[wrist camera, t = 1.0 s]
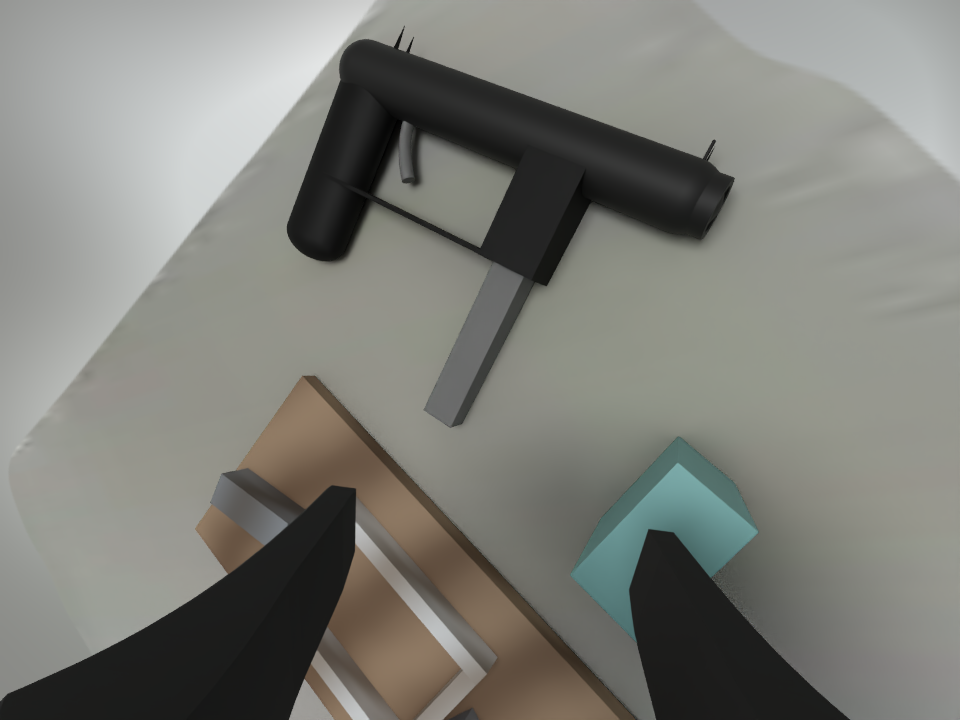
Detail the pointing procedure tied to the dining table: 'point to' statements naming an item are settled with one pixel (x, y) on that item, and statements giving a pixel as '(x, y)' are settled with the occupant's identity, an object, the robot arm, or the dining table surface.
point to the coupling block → (664, 526)
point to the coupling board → (398, 585)
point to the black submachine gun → (527, 203)
